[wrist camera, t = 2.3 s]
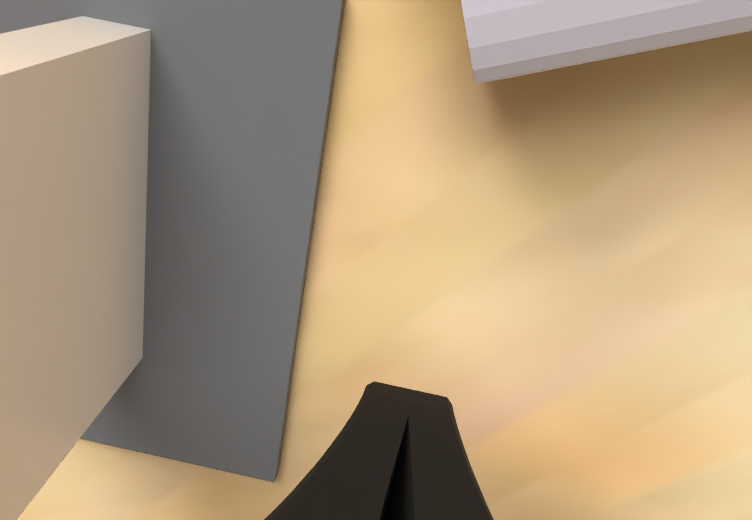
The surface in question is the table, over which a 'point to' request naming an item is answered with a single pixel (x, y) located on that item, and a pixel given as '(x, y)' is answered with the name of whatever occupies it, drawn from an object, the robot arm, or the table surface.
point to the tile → (68, 236)
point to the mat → (219, 218)
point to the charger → (587, 30)
